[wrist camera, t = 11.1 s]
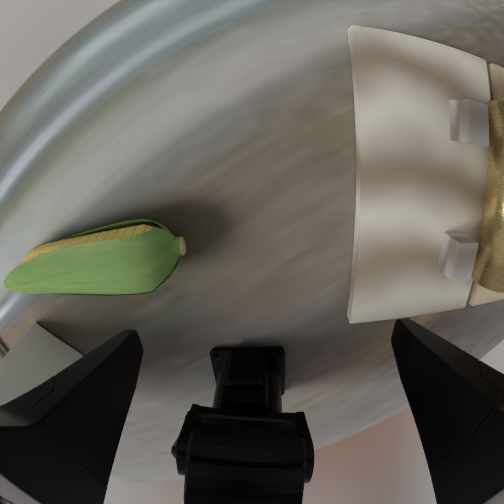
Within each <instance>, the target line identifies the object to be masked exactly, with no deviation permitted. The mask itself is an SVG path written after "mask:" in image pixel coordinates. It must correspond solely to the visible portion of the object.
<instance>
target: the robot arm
mask: <svg viewBox="0 0 504 504" xmlns="http://www.w3.org/2000/svg"><path fill="white" fill-rule="evenodd" d="M391 343H392V347H393V351H394V355H395V359H396V363H397V367H398V371H399V375H400V379H401V382H402V385H403V387H404V390H405V393H406V396H407V399H408V402H409V405H410V407H411V411H412V414H413V416H414V419H415V423H416V426H417V429H418V432H419V436H420V439H421V442H422V446H423V449H424V453H425V456H426V460H427V463H428V467H429V471H430V475H431V480H432V484H433V488H434V492H435V497H436V501H437V504H504V374H503V373H501V372H499V371H497V370H495V369H493V368H492V367H490V366H488V365H487V364H485V363H483V362H482V361H480V360H479V361H478V359H477V358H475V357H473V356H472V355H470V354H468V353H467V352H465V351H463V350H462V349H460V348H458V347H457V346H455V345H453V344H451V343H450V342H448V341H446V340H445V339H443V338H441V337H440V336H438V335H436V334H435V333H433V332H431V331H429V330H428V329H426V328H424V327H423V326H421V325H419V324H417V323H416V322H414V321H412V320H411V319H409V318H401V319H397V320H396V322H395V325H394V329H393V333H392V337H391ZM277 352H280V353H277ZM215 353H217V354H215ZM142 356H143V347H142V344H141V341H140V338H139V335H138V333H137V331H136V330H134V329H125V330H123V331H122V332H120V333H118V334H117V335H115V336H114V337H112V338H111V339H109V340H108V341H106V342H105V343H103V344H102V345H100V346H98V347H97V348H95V349H94V350H92V351H91V352H89V353H88V354H86V355H85V356H83V357H82V358H80V359H79V360H77V361H75V362H74V363H72V364H71V365H69V366H68V367H66V368H65V369H63V370H62V371H60V372H59V373H57V374H56V375H54V376H52V377H51V378H49V379H48V380H46V381H45V382H43V383H42V384H40V385H38V386H37V387H35V388H33V389H31V390H30V391H28V392H26V393H24V394H22V395H20V396H19V397H17V398H15V399H13V400H11V401H9V402H7V403H6V404H3V405H1V406H0V504H103V503H104V498H105V494H106V490H107V485H108V481H109V477H110V473H111V470H112V466H113V462H114V458H115V455H116V451H117V448H118V444H119V440H120V437H121V434H122V430H123V427H124V423H125V420H126V417H127V414H128V410H129V407H130V404H131V401H132V398H133V395H134V391H135V388H136V384H137V379H138V374H139V369H140V365H141V360H142ZM210 357H211V361H212V366H213V371H214V375H215V380H216V390H215V396H214V402H213V407H205V406H200V405H198V404H192V406H191V409H190V411H188V413H187V415H186V417H185V421H184V424H183V426H182V429H181V432H180V435H179V437H178V438H177V440H176V441H175V443H174V445H173V446H172V450H171V453H172V455H173V456H174V457H175V459H176V463H177V470H178V474H179V475H184V476H185V485H184V504H302V498H303V490H304V483H308V482H309V481H310V479H311V477H312V474H313V468H314V447H313V442H312V439H311V435H310V432H309V428H308V425H307V421H306V418H305V414H304V412H297V413H282V399H281V395H283V394H284V382H285V351H284V348H283V347H252V348H213V349H212V350H211V352H210Z"/></svg>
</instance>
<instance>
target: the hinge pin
mask: <svg viewBox="0 0 504 504" xmlns="http://www.w3.org/2000/svg"><path fill="white" fill-rule="evenodd" d="M487 105H488V115H489V147H488V162H487V179H486V190H485V200H484V208H483V215H482V222H481V228H480V234H479V239H478V243H479V244H478V249H477V254H476V258H475V263H474V267H473V271H472V275H471V276H472V278H473V279H474V281H475V282H477V283H478V284H479V285H481V286H482V287H484V288H486V289H488V290H491V291H494V292H499V293H504V101H487Z"/></svg>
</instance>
